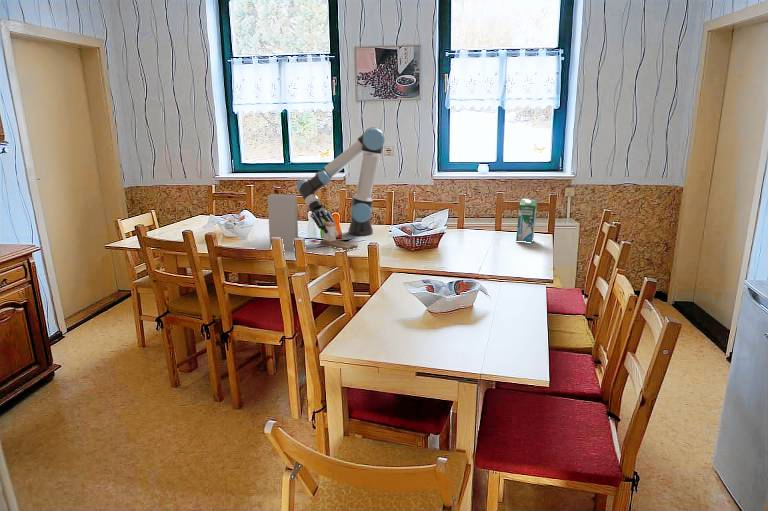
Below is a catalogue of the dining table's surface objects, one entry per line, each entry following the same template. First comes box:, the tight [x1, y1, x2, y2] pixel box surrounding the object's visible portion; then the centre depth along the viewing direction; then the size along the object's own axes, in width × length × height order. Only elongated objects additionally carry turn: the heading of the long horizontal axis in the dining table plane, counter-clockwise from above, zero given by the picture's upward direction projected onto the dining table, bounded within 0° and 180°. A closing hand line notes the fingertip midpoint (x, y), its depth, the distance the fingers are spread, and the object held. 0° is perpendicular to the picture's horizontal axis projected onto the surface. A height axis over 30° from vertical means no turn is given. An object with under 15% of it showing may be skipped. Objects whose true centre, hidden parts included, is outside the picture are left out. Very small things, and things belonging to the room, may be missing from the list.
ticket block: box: [319, 239, 359, 251], centre depth 286 cm, size 8×22×2 cm, turn 49°
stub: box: [322, 221, 337, 242], centre depth 289 cm, size 4×6×10 cm
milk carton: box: [515, 198, 538, 243], centre depth 301 cm, size 9×9×25 cm
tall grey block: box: [267, 193, 299, 253], centre depth 273 cm, size 14×6×30 cm, turn 84°
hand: (334, 236), depth 287 cm, fingers closed on stub, 4 cm apart
